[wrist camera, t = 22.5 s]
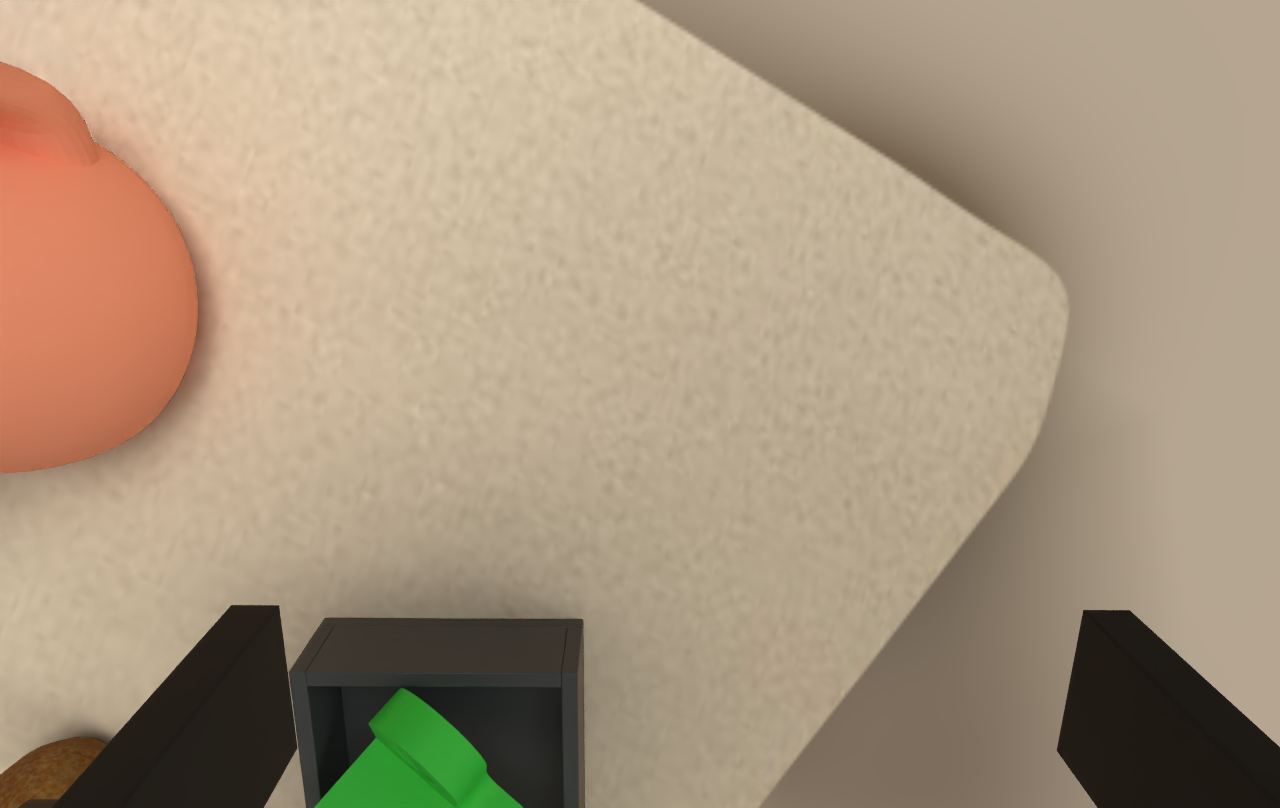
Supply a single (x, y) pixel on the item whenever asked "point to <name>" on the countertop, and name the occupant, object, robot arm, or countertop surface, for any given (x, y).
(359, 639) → the dark grey open tray
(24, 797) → the fruit
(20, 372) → the teapot
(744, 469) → the countertop surface
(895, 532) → the countertop surface
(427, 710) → the mechanical part
